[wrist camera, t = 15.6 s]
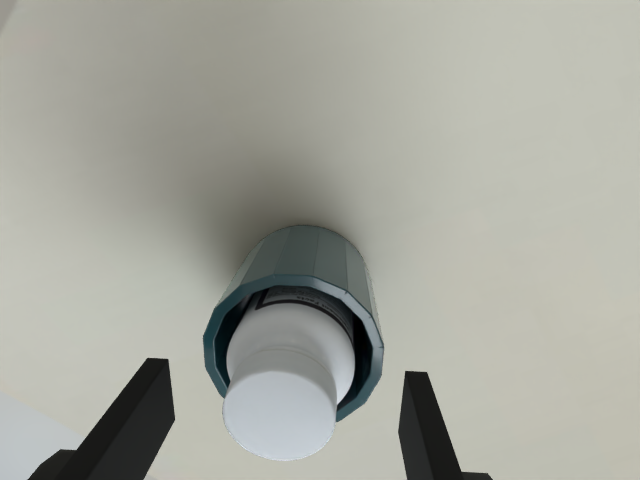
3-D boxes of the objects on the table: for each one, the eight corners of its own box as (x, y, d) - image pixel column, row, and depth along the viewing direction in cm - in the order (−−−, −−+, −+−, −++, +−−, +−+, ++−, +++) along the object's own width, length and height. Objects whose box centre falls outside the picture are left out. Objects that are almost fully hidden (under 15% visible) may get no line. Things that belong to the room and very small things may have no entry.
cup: (239, 222, 22) (196, 270, 15) (374, 227, 22) (390, 278, 15) (244, 338, 24) (209, 424, 18) (365, 344, 24) (376, 433, 17)
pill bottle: (309, 346, 24) (284, 498, 14) (243, 290, 23) (170, 415, 14) (373, 291, 22) (389, 422, 13) (304, 228, 21) (269, 321, 12)
